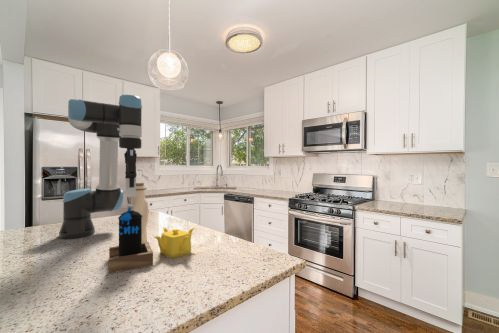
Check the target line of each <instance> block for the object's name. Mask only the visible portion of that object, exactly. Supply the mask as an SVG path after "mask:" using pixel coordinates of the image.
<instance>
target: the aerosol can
mask: <svg viewBox="0 0 499 333" xmlns="http://www.w3.org/2000/svg"><path fill="white" fill-rule="evenodd" d="M117 219H118V246H119V257H121V256H127V255H133V254H140V253H142V215H141V214H140V213H139V212H136V211H133V205H128V206H127V210H126V211H125V212H123V213H121V214H120V215H119V216H118V217H117Z"/></svg>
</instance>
